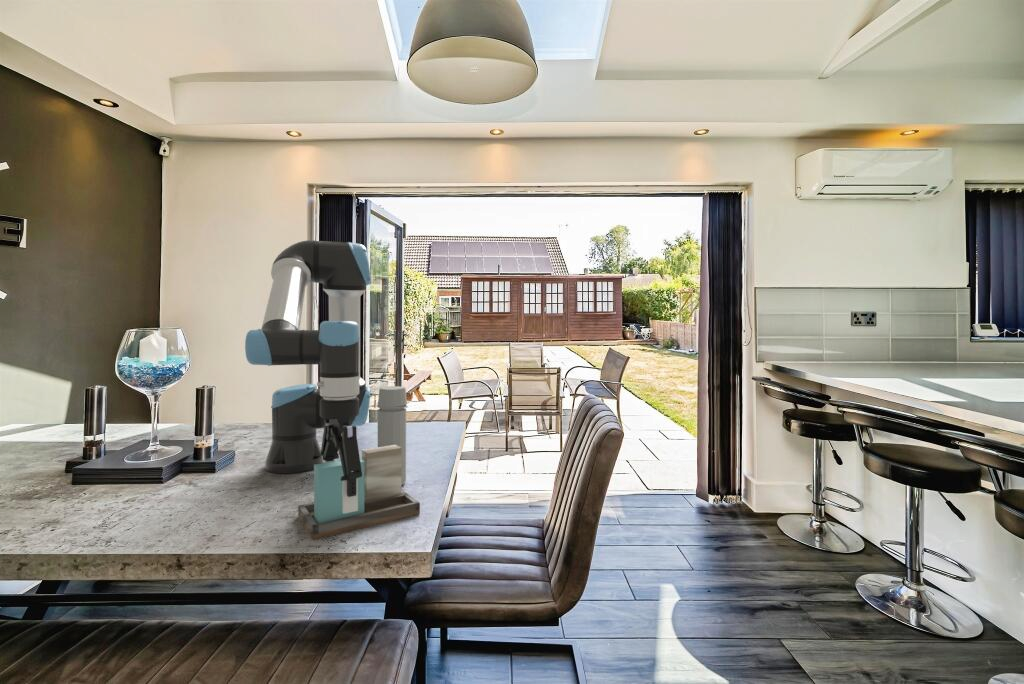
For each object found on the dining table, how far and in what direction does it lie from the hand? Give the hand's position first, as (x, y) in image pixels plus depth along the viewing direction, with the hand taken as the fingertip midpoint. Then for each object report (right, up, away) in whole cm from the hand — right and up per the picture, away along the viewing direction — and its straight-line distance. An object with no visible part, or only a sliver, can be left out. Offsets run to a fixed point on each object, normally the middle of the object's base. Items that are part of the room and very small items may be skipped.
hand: (339, 500), depth 96 cm
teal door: (0, -4, 0) cm, 4 cm away
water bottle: (+4, -5, +27) cm, 27 cm away
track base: (+2, -5, +6) cm, 8 cm away
